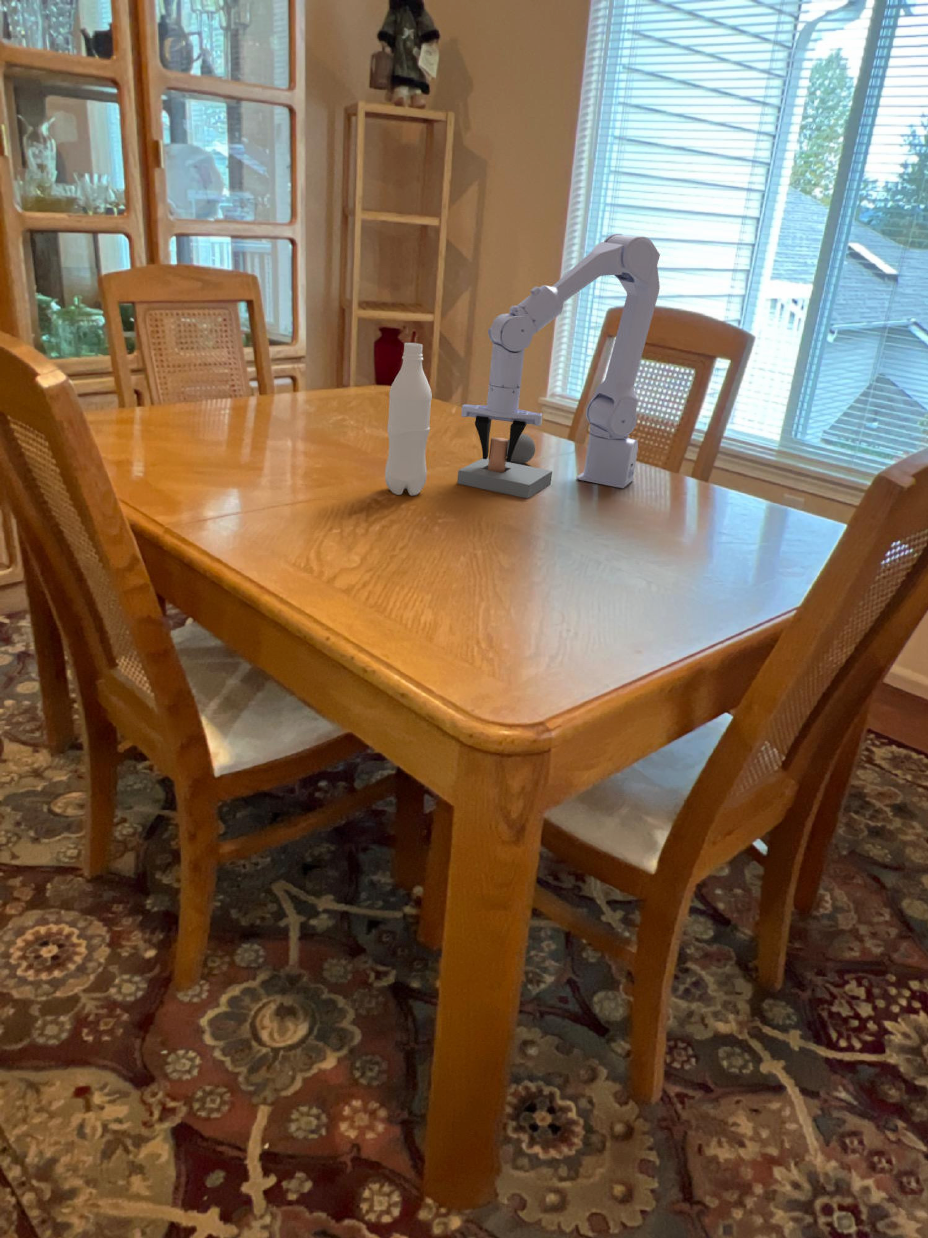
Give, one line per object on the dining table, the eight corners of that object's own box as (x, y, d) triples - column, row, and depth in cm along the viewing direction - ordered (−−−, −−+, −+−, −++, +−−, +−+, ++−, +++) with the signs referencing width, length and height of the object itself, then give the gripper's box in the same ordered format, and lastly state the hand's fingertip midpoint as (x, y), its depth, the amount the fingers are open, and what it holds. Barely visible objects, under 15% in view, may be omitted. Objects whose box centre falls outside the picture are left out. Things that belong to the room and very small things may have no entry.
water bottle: (419, 499, 152) (429, 349, 142) (379, 494, 153) (386, 344, 143) (429, 489, 158) (439, 344, 148) (390, 483, 159) (398, 339, 149)
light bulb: (515, 444, 187) (546, 443, 179) (503, 469, 186) (533, 469, 178) (496, 428, 183) (526, 427, 175) (483, 453, 182) (513, 453, 174)
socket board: (550, 483, 168) (552, 470, 167) (527, 498, 158) (529, 484, 157) (483, 469, 173) (484, 457, 172) (457, 483, 163) (458, 470, 162)
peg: (504, 480, 168) (508, 438, 164) (502, 485, 165) (507, 442, 162) (487, 478, 168) (491, 436, 165) (485, 483, 165) (490, 440, 162)
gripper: (546, 386, 162) (537, 459, 167) (468, 376, 163) (462, 449, 169) (543, 392, 155) (534, 468, 161) (462, 383, 157) (455, 458, 163)
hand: (497, 459), depth 165 cm, fingers open, 4 cm apart
